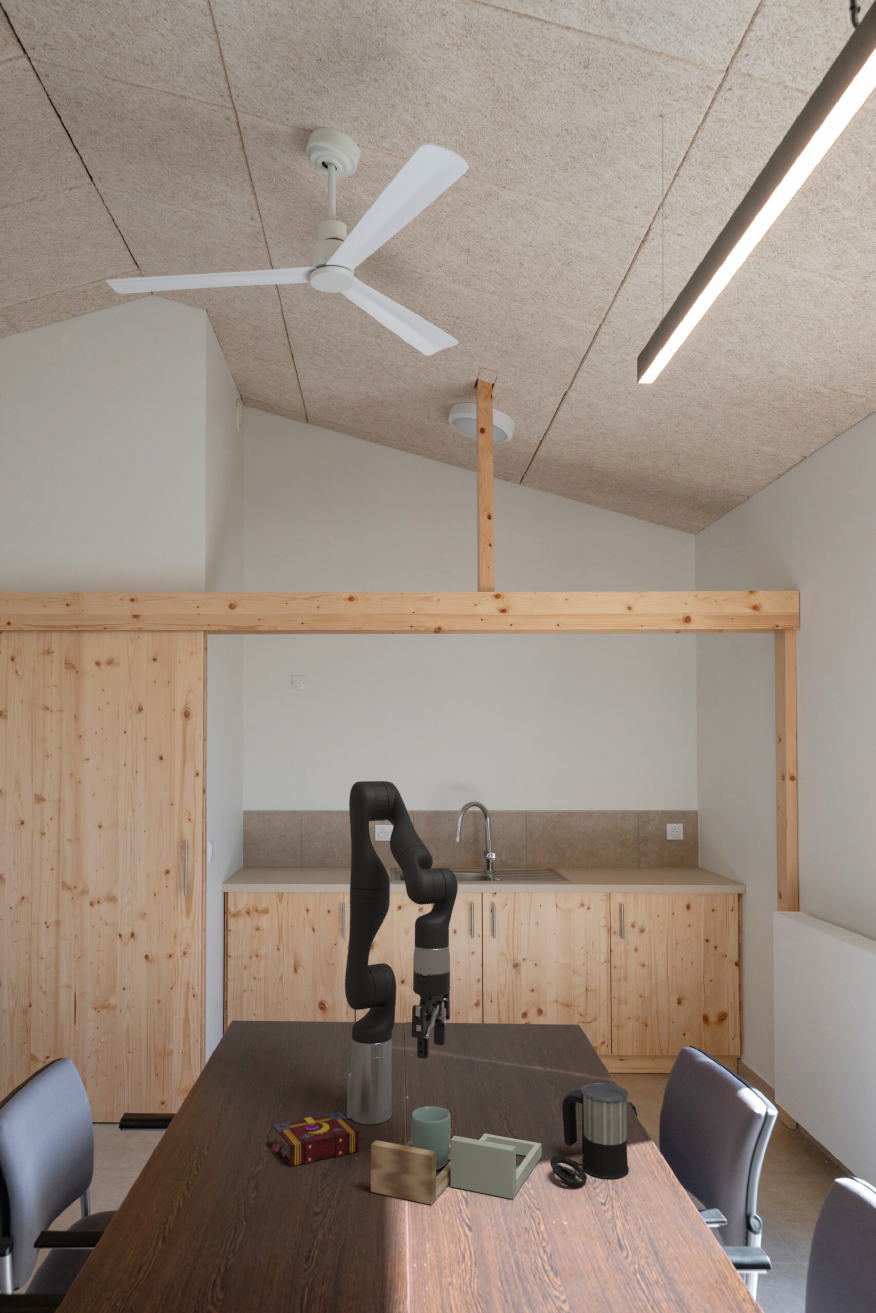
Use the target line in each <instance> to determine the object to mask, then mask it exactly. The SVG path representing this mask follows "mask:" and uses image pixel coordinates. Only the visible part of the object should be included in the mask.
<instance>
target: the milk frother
mask: <svg viewBox="0 0 876 1313" xmlns="http://www.w3.org/2000/svg"><path fill="white" fill-rule="evenodd" d="M628 1097H629V1092H628V1090H627V1089H625V1088H623V1087H622V1086H618V1085H616V1084H612V1083H605V1082H602V1083H601V1082H595V1083H594V1082H593V1083H588V1084H586V1085H584V1086H582V1088H581V1089H575V1090H572V1091H570V1092H568V1093H567V1094H566V1095H565V1096H564V1098H563V1101H562V1104H561V1106H562V1107H561V1108H562V1124H563V1138H564V1144H565V1145H567V1146H568V1147H572V1146H573V1145H575V1144H576V1143H577V1141H578V1128H577V1127H578V1126H577V1125H578V1124H577V1104H581V1105H582V1107H581V1108H582V1109H581V1112H582V1113H581V1115H582V1116H581V1125H582V1126H581V1133H582V1134H581V1137H582V1138H581V1142H582V1143H581V1154H582V1163H580V1162H578V1161H576V1160H574V1159H572V1158H570V1157H567V1156H564V1155H562V1154H557V1155H556V1154H555V1155H552V1156H551V1158H550V1160H549V1164H550V1167H551V1169H552V1171H553V1173H554V1174H555V1175H556V1176H557V1178H559V1179H560V1180H561V1181H563V1182H565V1183H566V1184H567V1185H568V1186H570V1185H571V1186H576V1187H579V1186H583V1185H584V1184H586V1182H587V1179H588V1178H587V1177H588V1176H587V1175H586V1173H587V1174H588V1175H591V1176H594V1177H597V1178H601V1179H620V1178H622V1177H624V1176H627V1174H629V1170H630V1168H629V1165H628V1163H629V1162H628V1139H627V1137H628V1112H627V1111H628V1108H627V1107H628V1106H627V1105H628V1104H627V1103H628V1101H627V1100H628ZM561 1164H565V1165H567V1166H569V1167H571V1168H569V1167H566V1166H563V1165H561ZM572 1168H573V1169H574V1170H573V1169H572ZM577 1174H578V1175H579V1177H578V1175H577Z"/></svg>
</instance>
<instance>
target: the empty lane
mask: <svg viewBox="0 0 876 1313" xmlns="http://www.w3.org/2000/svg"><path fill="white" fill-rule="evenodd" d="M450 1145H451V1160H450V1161H451V1182H450V1183H449V1185H450V1186H449V1187H453V1188H457V1189H462V1190H467V1191H471V1192H477V1193H481V1194H487V1195H491V1196H496V1197H499V1198H506V1199H511V1200H514V1198H515V1196H516V1195H517V1194H518V1193H519V1191H520V1189H521V1188H522V1186H523V1185H524V1184H525V1182H526V1180H527V1179H528V1177H529V1176H530V1175H531V1173H532V1171H533V1169H534V1168H535V1167H536V1165H537V1164H538V1162H539V1161H540V1159H542V1156H543V1149H542V1147H543V1144H542V1143H541V1142H535V1141H529V1140H525V1139H517V1138H512V1137H509V1136H508V1137H506V1136H501V1135H496V1134H491V1133H483V1134H482V1136H481V1137H480V1138H479V1139H477V1138H476V1139H475V1138H470V1137H464V1136H458V1135H454V1136H453V1137H452V1138H450ZM517 1155H521V1156H525V1157H524V1159H523V1160H522V1162H521V1163H520V1164H519V1166H518V1167H517Z"/></svg>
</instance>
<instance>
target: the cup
mask: <svg viewBox="0 0 876 1313" xmlns="http://www.w3.org/2000/svg"><path fill="white" fill-rule="evenodd" d="M410 1124H411V1127H410V1128H411V1133H410V1134H411V1139H412V1147H415V1148H420V1149H425V1150H430V1151H436V1171H439V1170H440V1169H442V1168H443V1167H445V1165H446V1164H447V1162H448V1160H449V1159H448V1156H449V1150H450V1145H451V1114H450V1110H448V1109H446V1108H445V1107H442V1106H441V1107H440V1106H433V1105H432V1106H431V1105H430V1106H429V1105H428V1106H427V1105H426V1106H421V1107H417V1108H416V1109H415V1110H413V1111H412V1114H411V1122H410Z"/></svg>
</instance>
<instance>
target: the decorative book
mask: <svg viewBox="0 0 876 1313" xmlns="http://www.w3.org/2000/svg"><path fill="white" fill-rule="evenodd" d="M273 1130H274V1132H276V1141H273V1142H272V1146H271V1148H270V1149H271V1151H274V1152H275V1153H279V1154H280V1155H281V1156H282V1157H283V1158H284V1160H285V1161H286V1163H287V1164H288V1165H289V1166H290V1167H293V1166H297V1165H302V1164H304V1165H305V1166H306V1165H311V1164H315V1163H316V1161H321V1160H325V1159H329V1158H333V1157H335V1158H336V1159H337V1158H338V1159H339V1158H343V1157H346V1155H348V1154H351V1153H352V1154H353V1153H357V1152H359V1149H360V1132H359V1130H358V1129H357V1128H356V1127H355V1126H354V1125H352V1123H350V1121H348V1118H347V1116H345V1115H344V1114H343V1113H342V1112H341V1111H338V1112H334V1113H330V1114H325V1115H323V1116H318V1117H312V1116H308V1117H303V1120H298V1121H294V1122H292V1121H288V1122H282V1123H278V1124H277V1123H276V1124H273Z"/></svg>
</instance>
